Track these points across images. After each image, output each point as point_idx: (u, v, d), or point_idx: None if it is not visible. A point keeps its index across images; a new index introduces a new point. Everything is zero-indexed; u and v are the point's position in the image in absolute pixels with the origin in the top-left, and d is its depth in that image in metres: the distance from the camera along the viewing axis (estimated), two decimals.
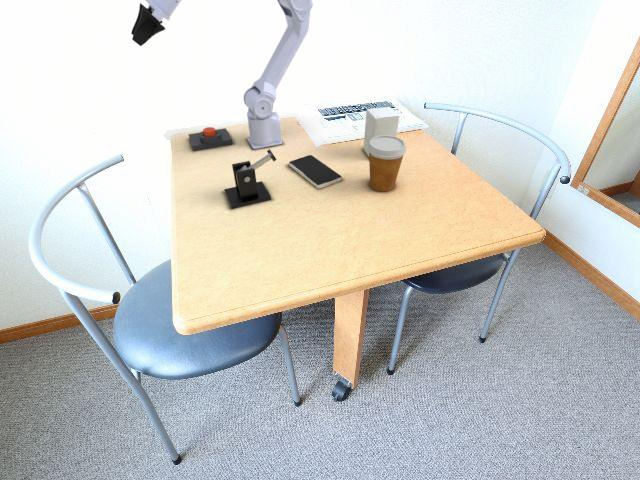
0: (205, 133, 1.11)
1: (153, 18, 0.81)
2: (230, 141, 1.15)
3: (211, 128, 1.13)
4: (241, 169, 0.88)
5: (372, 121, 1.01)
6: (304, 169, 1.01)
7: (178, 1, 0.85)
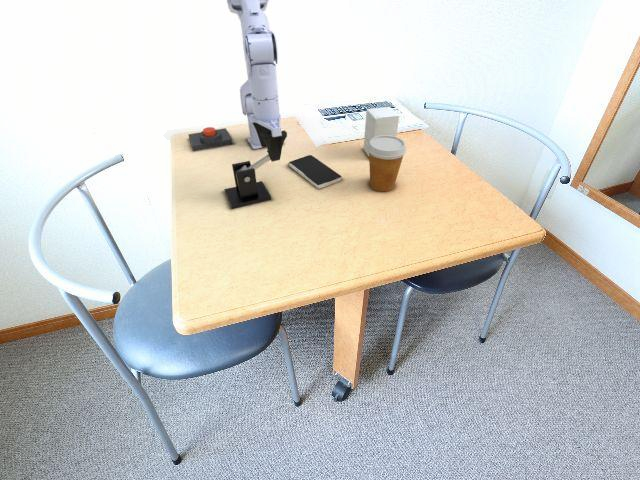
0: (205, 133, 1.11)
1: (274, 136, 0.80)
2: (230, 141, 1.15)
3: (211, 128, 1.13)
4: (241, 169, 0.88)
5: (372, 121, 1.01)
6: (304, 169, 1.01)
7: (277, 98, 0.79)
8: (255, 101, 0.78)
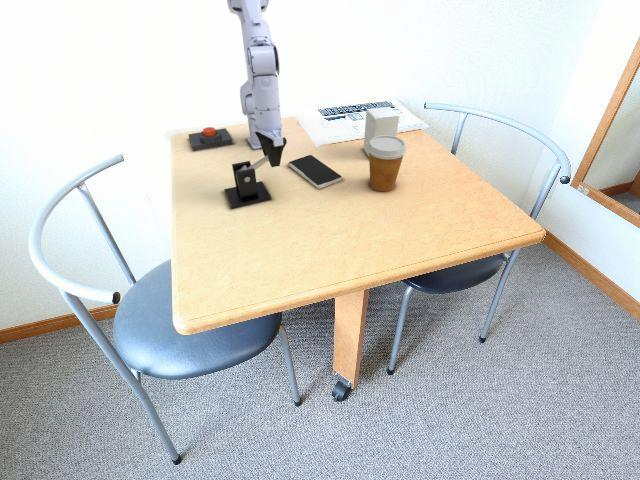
0: (205, 133, 1.11)
1: None
2: (230, 141, 1.15)
3: (211, 128, 1.13)
4: (241, 169, 0.88)
5: (372, 121, 1.01)
6: (304, 169, 1.01)
7: (279, 108, 0.81)
8: (257, 111, 0.80)
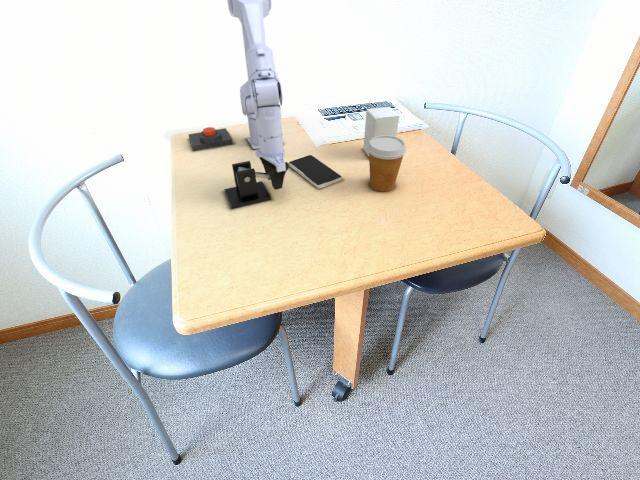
0: (205, 133, 1.11)
1: None
2: (230, 141, 1.15)
3: (211, 128, 1.13)
4: (245, 168, 0.89)
5: (372, 121, 1.01)
6: (304, 169, 1.01)
7: (281, 135, 0.85)
8: (261, 138, 0.84)
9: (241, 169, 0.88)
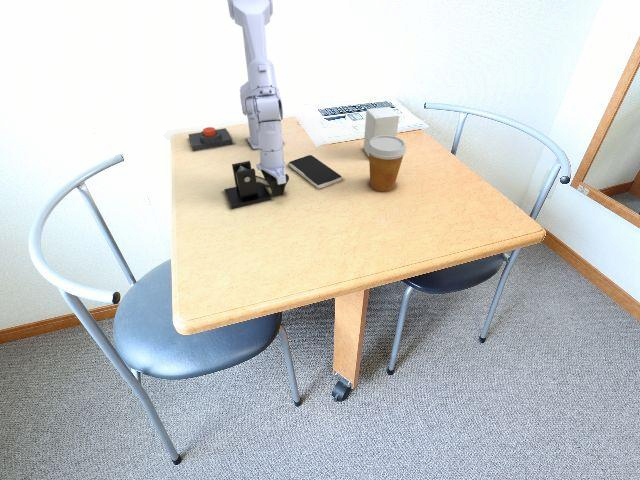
0: (205, 133, 1.11)
1: None
2: (230, 141, 1.15)
3: (211, 128, 1.13)
4: (246, 169, 0.89)
5: (372, 121, 1.01)
6: (304, 169, 1.01)
7: (282, 148, 0.87)
8: (262, 152, 0.86)
9: (243, 168, 0.88)
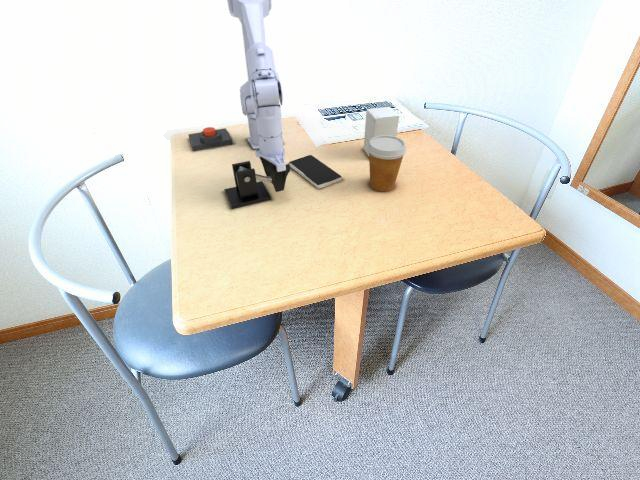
0: (205, 133, 1.11)
1: (279, 170, 0.85)
2: (230, 141, 1.15)
3: (211, 128, 1.13)
4: (245, 168, 0.89)
5: (372, 121, 1.01)
6: (304, 169, 1.01)
7: (281, 135, 0.85)
8: (261, 138, 0.84)
9: (242, 169, 0.88)
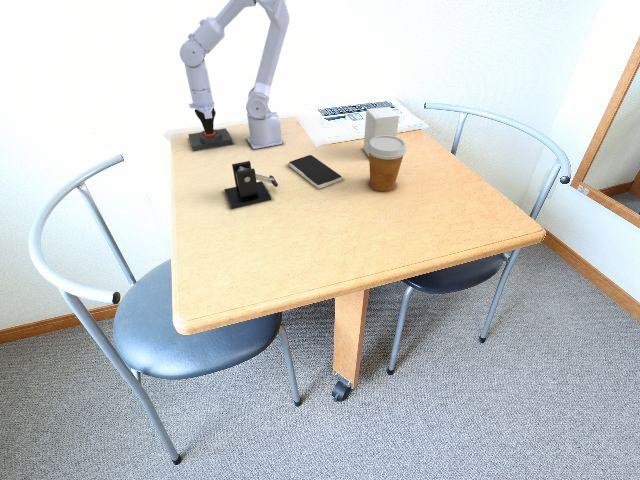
0: (206, 136, 1.12)
1: None
2: (230, 141, 1.15)
3: None
4: (245, 168, 0.89)
5: (372, 121, 1.01)
6: (304, 169, 1.01)
7: (209, 89, 1.04)
8: (192, 91, 1.03)
9: (242, 169, 0.88)
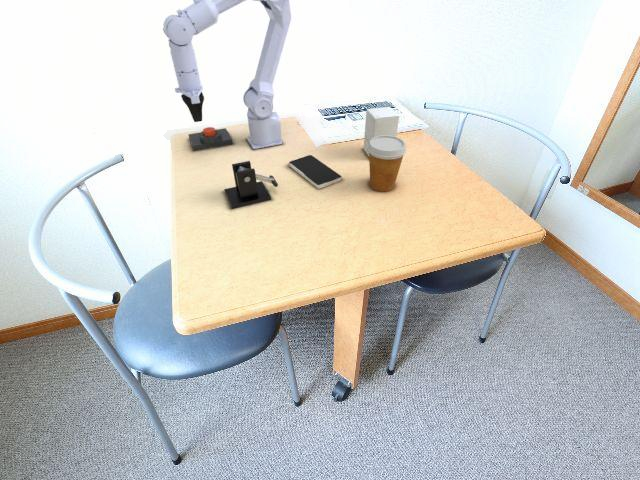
0: (205, 133, 1.11)
1: None
2: (230, 141, 1.15)
3: (211, 128, 1.13)
4: (245, 168, 0.89)
5: (372, 121, 1.01)
6: (304, 169, 1.01)
7: (196, 71, 0.94)
8: (177, 74, 0.93)
9: (242, 169, 0.88)
